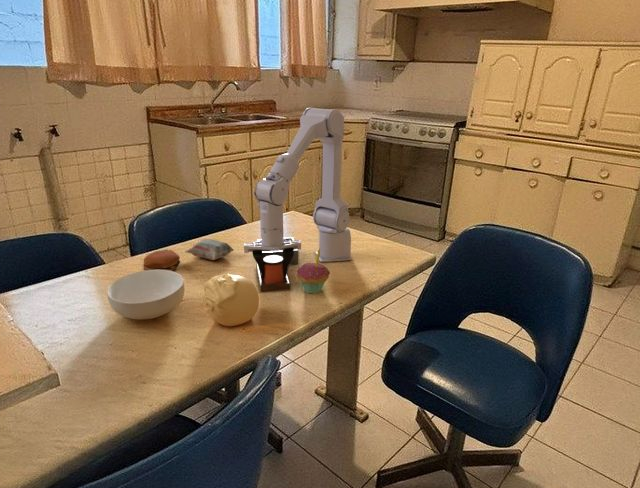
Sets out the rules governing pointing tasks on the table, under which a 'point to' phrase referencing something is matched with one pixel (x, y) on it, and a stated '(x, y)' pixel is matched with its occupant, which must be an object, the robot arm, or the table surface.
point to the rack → (272, 286)
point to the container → (273, 269)
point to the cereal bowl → (146, 294)
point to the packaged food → (210, 249)
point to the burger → (161, 260)
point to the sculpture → (231, 299)
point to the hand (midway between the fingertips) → (273, 275)
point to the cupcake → (313, 276)
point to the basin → (280, 253)
